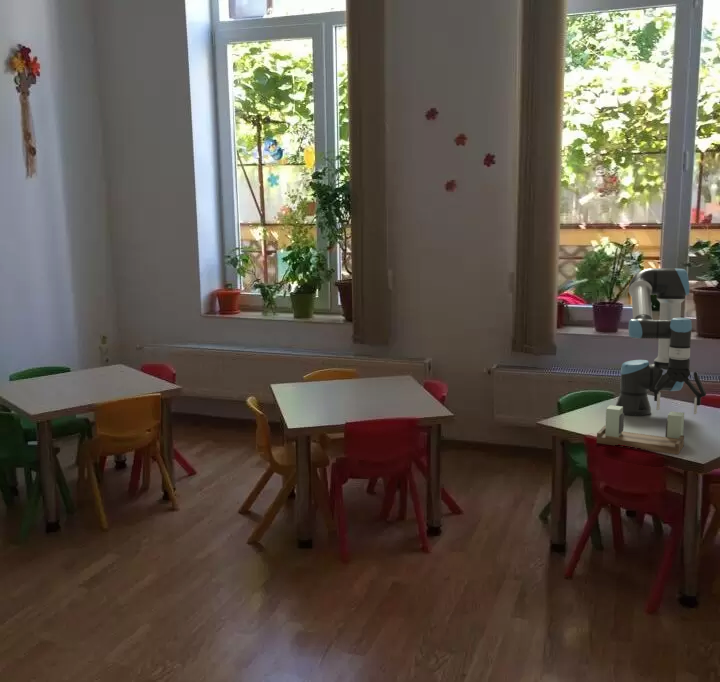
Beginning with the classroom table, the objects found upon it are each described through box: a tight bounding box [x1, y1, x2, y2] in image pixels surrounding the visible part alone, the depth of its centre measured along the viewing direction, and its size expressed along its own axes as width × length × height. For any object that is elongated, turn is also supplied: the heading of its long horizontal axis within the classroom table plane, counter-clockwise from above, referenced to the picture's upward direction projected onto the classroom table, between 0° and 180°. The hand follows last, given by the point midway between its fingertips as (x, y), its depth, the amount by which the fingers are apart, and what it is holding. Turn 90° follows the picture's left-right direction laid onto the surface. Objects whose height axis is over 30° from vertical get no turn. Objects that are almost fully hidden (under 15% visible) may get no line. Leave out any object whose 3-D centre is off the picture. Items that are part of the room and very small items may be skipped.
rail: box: [596, 425, 685, 455], centre depth 293 cm, size 12×30×4 cm, turn 58°
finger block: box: [664, 411, 685, 439], centre depth 296 cm, size 6×6×11 cm
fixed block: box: [605, 404, 625, 437], centre depth 297 cm, size 6×6×11 cm
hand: (676, 411), depth 295 cm, fingers open, 13 cm apart
